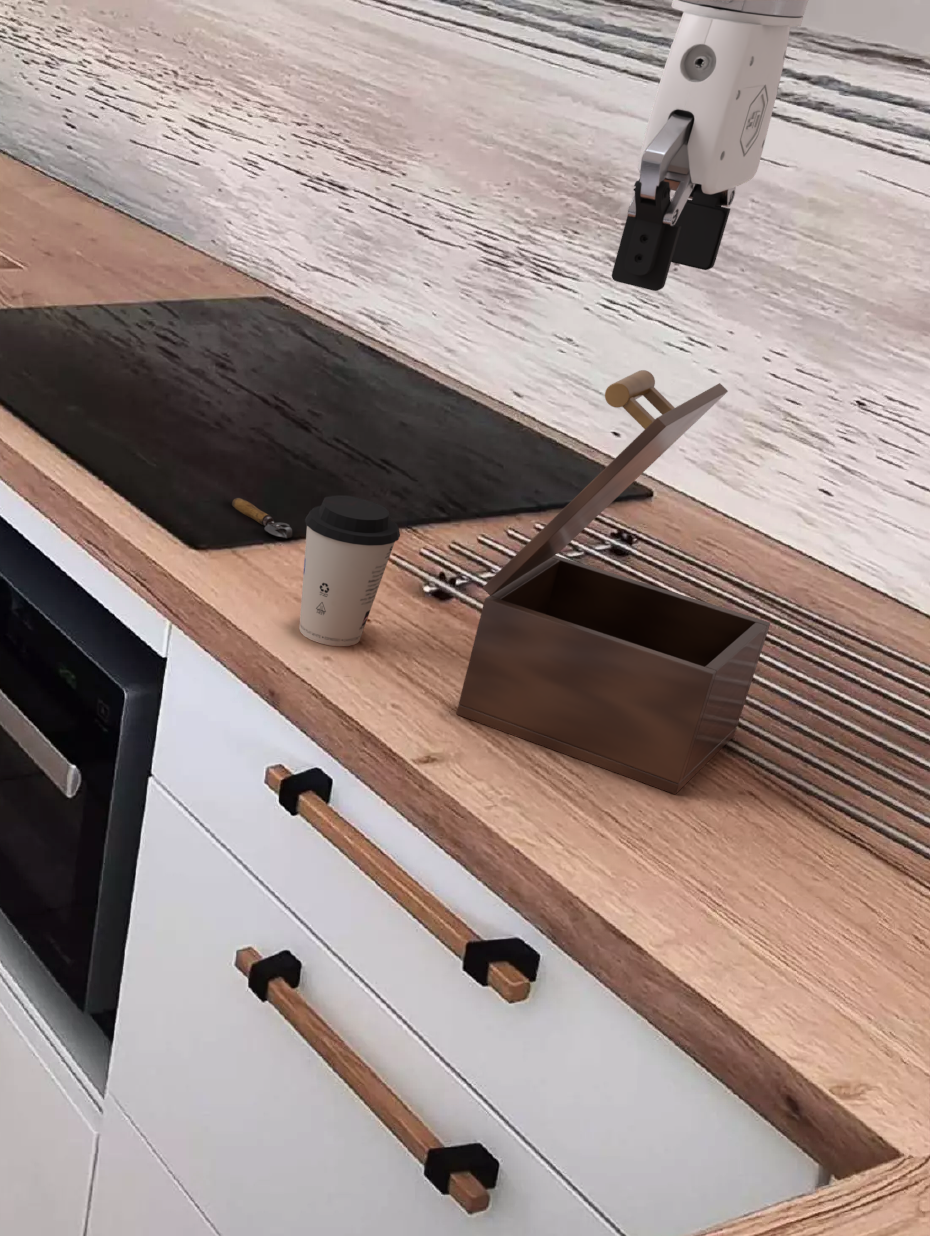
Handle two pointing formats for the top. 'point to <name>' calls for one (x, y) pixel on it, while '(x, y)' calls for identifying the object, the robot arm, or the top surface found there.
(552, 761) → the top surface
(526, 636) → the box
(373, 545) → the coffee cup
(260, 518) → the can opener
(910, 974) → the top surface
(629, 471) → the caddy lid
